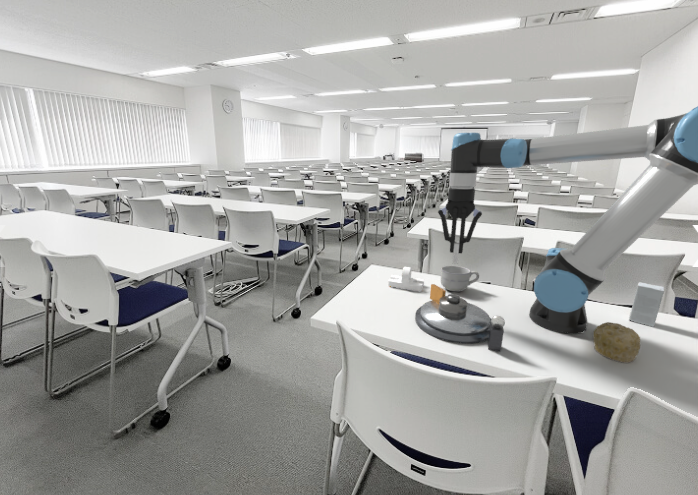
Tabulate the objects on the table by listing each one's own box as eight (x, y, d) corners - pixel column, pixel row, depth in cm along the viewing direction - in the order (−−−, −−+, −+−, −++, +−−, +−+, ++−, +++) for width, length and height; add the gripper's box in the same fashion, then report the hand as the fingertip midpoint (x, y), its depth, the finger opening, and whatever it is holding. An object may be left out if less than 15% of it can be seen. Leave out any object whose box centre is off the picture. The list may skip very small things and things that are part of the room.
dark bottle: (500, 345, 88) (505, 315, 86) (500, 351, 85) (506, 320, 83) (487, 343, 89) (491, 312, 87) (487, 349, 86) (492, 318, 84)
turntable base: (492, 312, 107) (492, 309, 106) (496, 351, 86) (497, 346, 85) (421, 301, 114) (421, 297, 114) (408, 333, 93) (409, 329, 93)
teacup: (437, 291, 123) (439, 271, 121) (441, 281, 133) (442, 262, 130) (476, 297, 118) (479, 277, 116) (477, 286, 128) (480, 267, 125)
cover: (453, 305, 104) (455, 289, 102) (471, 317, 97) (474, 299, 95) (432, 310, 101) (434, 293, 99) (450, 322, 94) (452, 304, 92)
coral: (645, 360, 83) (653, 333, 81) (618, 366, 80) (626, 339, 78) (608, 341, 91) (614, 316, 89) (583, 346, 89) (589, 320, 87)
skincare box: (654, 322, 102) (664, 286, 99) (653, 327, 99) (664, 291, 96) (629, 316, 106) (638, 281, 103) (627, 320, 103) (637, 285, 100)
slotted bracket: (387, 287, 127) (388, 268, 124) (391, 281, 133) (392, 262, 131) (421, 292, 122) (423, 272, 120) (423, 285, 129) (425, 266, 127)
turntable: (454, 298, 114) (456, 280, 112) (504, 327, 95) (508, 306, 93) (405, 307, 106) (406, 288, 104) (449, 341, 87) (451, 319, 85)
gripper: (485, 187, 99) (477, 261, 105) (440, 185, 103) (435, 257, 110) (485, 189, 92) (477, 268, 98) (438, 187, 97) (432, 263, 103)
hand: (455, 262), depth 104 cm, fingers closed
